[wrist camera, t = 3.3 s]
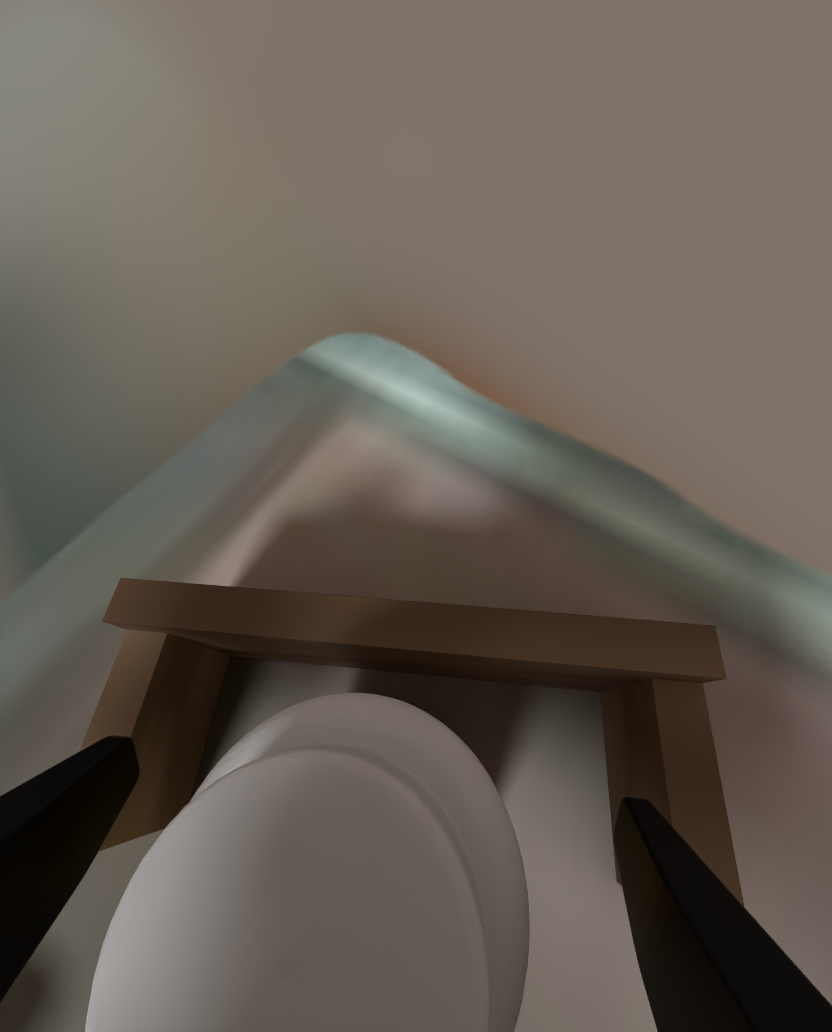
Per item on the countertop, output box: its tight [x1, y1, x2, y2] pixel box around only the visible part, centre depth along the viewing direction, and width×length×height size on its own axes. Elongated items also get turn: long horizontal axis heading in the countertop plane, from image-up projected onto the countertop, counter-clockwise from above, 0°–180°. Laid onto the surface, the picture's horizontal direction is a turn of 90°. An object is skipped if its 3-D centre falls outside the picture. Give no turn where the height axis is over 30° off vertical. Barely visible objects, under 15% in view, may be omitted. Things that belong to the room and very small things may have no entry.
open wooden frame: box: [80, 578, 744, 906], centre depth 12 cm, size 6×15×5 cm, turn 84°
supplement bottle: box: [85, 693, 529, 1032], centre depth 9 cm, size 6×6×10 cm
